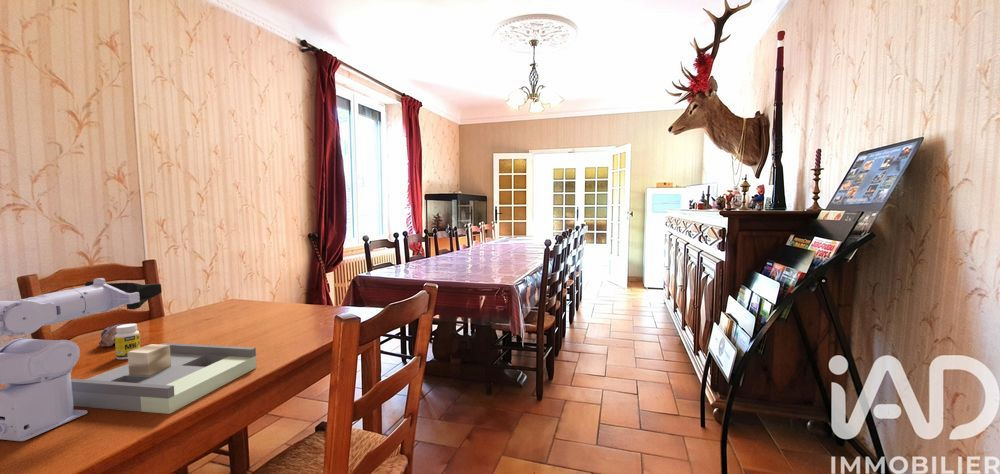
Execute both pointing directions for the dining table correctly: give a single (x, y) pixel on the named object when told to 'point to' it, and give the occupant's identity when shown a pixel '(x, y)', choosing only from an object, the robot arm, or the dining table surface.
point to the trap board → (166, 380)
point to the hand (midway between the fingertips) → (145, 287)
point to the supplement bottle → (126, 340)
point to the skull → (108, 336)
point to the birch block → (149, 359)
